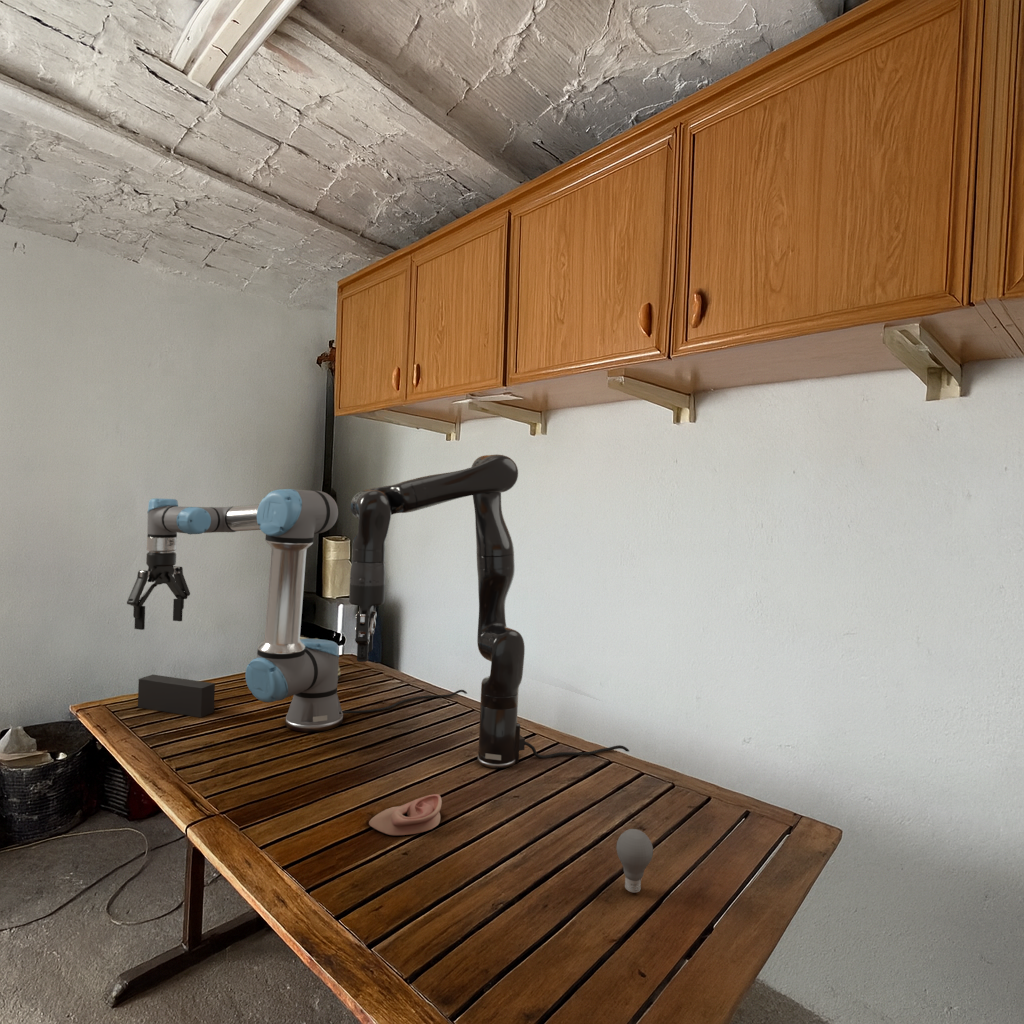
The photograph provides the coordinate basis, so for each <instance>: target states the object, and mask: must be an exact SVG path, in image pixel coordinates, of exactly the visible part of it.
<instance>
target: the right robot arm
mask: <svg viewBox="0 0 1024 1024" xmlns="http://www.w3.org/2000/svg"><path fill="white" fill-rule="evenodd" d="M518 479H519V469H518V466H517V464H516V462H515V461H514V459H512V458H511V457H509V456H507V455H504V454H485V455H481V456H478V457H477V458H476V459H475V460H474V461H473V463H472V465H471V467H468V468H465V469H460V470H456V471H449V472H443V473H442V472H441V473H435V474H431V475H430V474H429V475H425V476H420V477H415V478H411V479H408V480H404V481H401V482H398V483H395V484H391V485H385V486H377V487H372V488H368V489H363V490H360V491H359V492H357V493H356V494H354V496H353V497H352V499H351V501H350V512H351V513H352V516H353V517H354V518H355V519H357V520H358V527H357V534H356V535H355V536H354V537H353V539H352V550H351V551H352V552H351V565H350V572H349V595H348V596H349V597H348V602H349V604H351V605H352V606H358V607H359V610H357V613H355V622H356V623H355V638H354V641H355V644H357V646H356V649H357V650H356V661H357V662H359V663H360V662H361V663H366V662H368V660H369V653H371V652H372V651H373V645H374V643H373V642H374V634H375V629H376V624H377V621H376V619H377V611H376V608H377V607H378V606H381V605H384V604H385V602H386V601H385V599H386V576H387V573H386V572H387V571H386V570H387V569H386V542H387V537H388V533H389V528H390V525H391V524H390V523H391V519H392V515H395V514H407V513H413V512H416V511H420V510H423V509H426V508H431V507H434V506H437V505H441V504H444V503H447V502H451V501H454V500H457V499H461V498H466V497H469V496H472V500H473V507H474V519H475V523H474V524H475V541H476V545H475V546H476V570H477V586H478V587H477V588H478V589H477V590H478V622H477V638H476V639H477V649H478V652H479V654H480V656H482V658H484V659H485V660H487V661H488V662H490V663H491V664H490V674H489V675H488V676H485V677H484V678H483V679H482V680H481V684H480V707H479V710H480V711H479V726H478V727H479V728H478V729H479V730H478V750H477V762H478V764H479V765H481V766H483V767H485V768H489V769H506V768H510V767H512V766H514V765H515V764H518V763H519V762H520V751H521V752H522V751H525V748H526V747H525V746H527V747H528V748H529V749H531V751H532V753H533V755H534V757H535V758H538V759H551V758H556V757H561V756H562V757H563V756H566V757H567V756H570V757H574V756H575V757H578V756H579V757H582V756H592V755H595V754H600V753H605V752H610V751H615V750H617V749H618V750H619V749H621V750H623V751H625V752H626V753H627V752H630V750H629V748H628V747H626V746H625V745H621V744H619V745H614V746H609V747H603V748H599V749H595V750H591V751H581V752H577V751H576V752H573V751H571V752H570V751H567V752H565V751H563V752H554V753H550V754H547V755H545V754H544V755H543V754H542V755H541V754H539V753H538V752H537V749H536V748H535V746H534V745H532V744H531V743H530V742H527V741H526V738H525V737H524V736H522V734H521V724H520V722H518V714H519V713H518V712H519V709H518V708H519V689H520V686H521V684H522V681H523V674H524V665H525V654H526V653H525V652H526V651H525V650H526V648H525V647H526V646H525V640H524V637H523V635H522V634H521V632H519V631H517V630H516V629H513V628H511V627H508V626H507V621H506V600H507V597H508V595H509V592H510V588H511V586H512V583H513V581H514V577H515V571H516V566H515V563H516V562H515V547H514V542H513V539H512V535H511V533H510V531H509V528H508V526H507V523H506V521H505V518H504V514H503V507H502V493H506V492H508V491H509V490H511V489H512V488H513V487H514V486H515V485H516V483H517V481H518Z"/></svg>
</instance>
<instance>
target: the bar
mask: <svg viewBox="0 0 1024 1024" xmlns="http://www.w3.org/2000/svg"><path fill="white" fill-rule="evenodd" d="M137 688H138V689H137V708H140V709H146V710H153V711H158V712H164V713H170V714H176V715H183V716H189V717H195V718H203V717H205V716H209V715H210V714H213V713H214V712H215V696H216V695H215V690H216V683H215V682H210V681H209V682H207V681H202V680H193V679H188V678H181V677H175V676H174V677H173V676H166V675H161V674H160V675H159V674H150V675H147V676H144V677H143V676H142V677H140V678H138V687H137Z"/></svg>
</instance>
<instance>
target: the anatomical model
mask: <svg viewBox="0 0 1024 1024" xmlns="http://www.w3.org/2000/svg"><path fill="white" fill-rule="evenodd" d="M442 804H443V799H442V797H441V795H440V794H437V793H435V794H433V793H432V794H429V795H425V796H421V797H418V798H416V799H413V800H411V801H409V802H406V803H404V804H402V805H398V806H392V807H390V808H386V809H384V810H382V811H380V812H379V813H377V814H376V815H374V816H373V817H371V819H370V820H369V821H368V825H369V826H370V827H371V828H372V829H374V830H376V831H378V832H380V833H382V834H385V835H389V836H405V835H406V836H408V835H415V834H421V833H424V832H428V831H430V830H433V829H434V828H436V827H437V826H439V824H440V822H441V817H442V816H441V813H440V811H441V809H442Z"/></svg>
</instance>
